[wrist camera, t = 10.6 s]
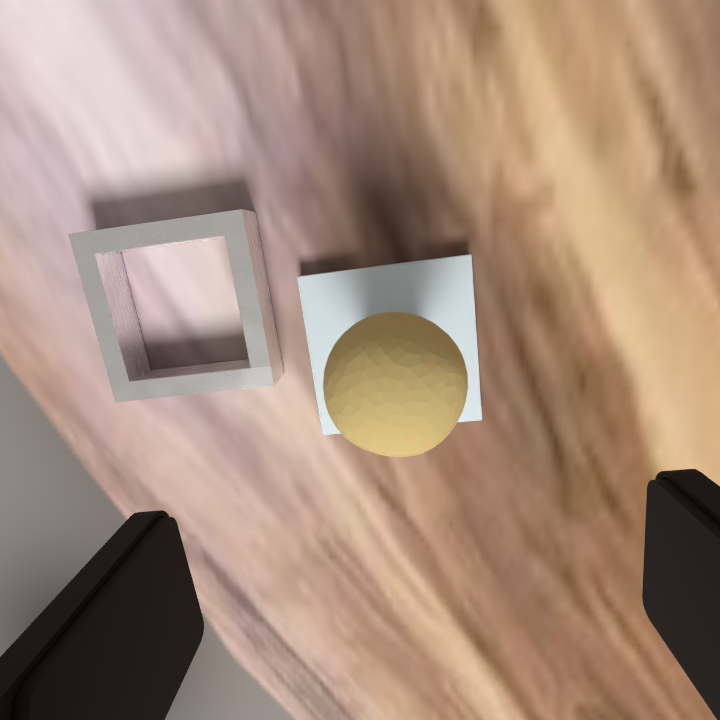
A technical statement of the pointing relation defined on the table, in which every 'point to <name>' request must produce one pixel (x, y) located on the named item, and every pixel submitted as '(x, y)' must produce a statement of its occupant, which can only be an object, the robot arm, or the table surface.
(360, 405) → the light bulb
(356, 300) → the pad
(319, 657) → the table surface
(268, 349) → the frame
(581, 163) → the table surface
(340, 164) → the table surface
